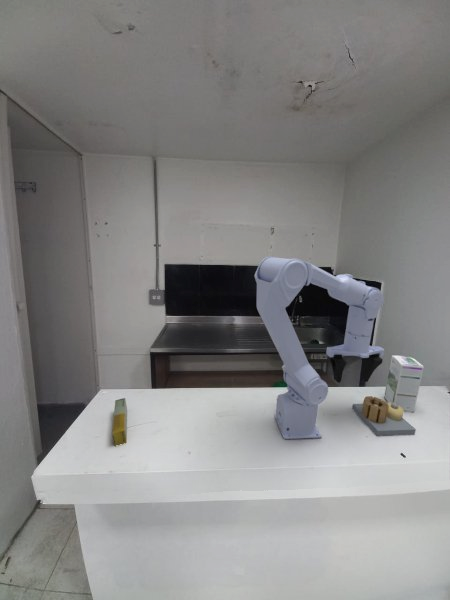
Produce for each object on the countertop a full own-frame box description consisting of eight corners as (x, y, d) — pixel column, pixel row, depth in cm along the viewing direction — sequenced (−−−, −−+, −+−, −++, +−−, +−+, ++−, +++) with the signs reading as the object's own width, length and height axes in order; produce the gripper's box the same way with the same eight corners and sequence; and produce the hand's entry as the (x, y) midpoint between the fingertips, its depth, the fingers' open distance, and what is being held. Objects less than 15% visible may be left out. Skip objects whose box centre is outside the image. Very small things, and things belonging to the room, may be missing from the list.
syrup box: (414, 412, 66) (426, 366, 62) (391, 409, 67) (401, 363, 64) (404, 400, 71) (414, 356, 68) (382, 397, 72) (391, 354, 69)
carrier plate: (376, 436, 57) (380, 418, 56) (352, 408, 67) (354, 393, 66) (414, 434, 58) (418, 417, 57) (384, 407, 68) (387, 392, 66)
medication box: (116, 412, 63) (114, 399, 62) (127, 409, 64) (125, 397, 63) (114, 447, 52) (112, 432, 51) (127, 444, 53) (125, 429, 52)
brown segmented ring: (370, 423, 59) (373, 410, 58) (357, 409, 64) (359, 396, 63) (390, 423, 59) (393, 409, 59) (375, 408, 65) (378, 396, 64)
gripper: (339, 338, 55) (332, 389, 58) (397, 338, 56) (387, 388, 59) (324, 328, 62) (319, 374, 65) (376, 327, 63) (368, 373, 66)
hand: (350, 380), depth 62 cm, fingers open, 7 cm apart
